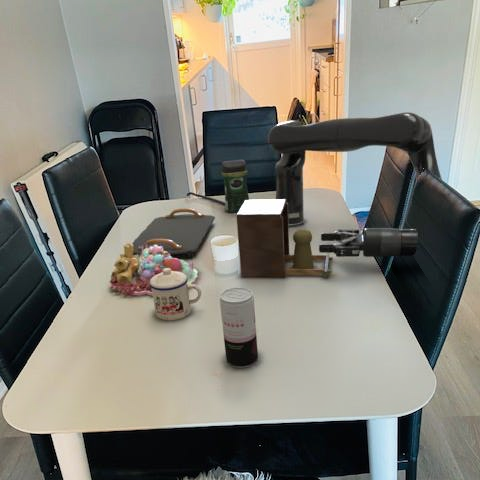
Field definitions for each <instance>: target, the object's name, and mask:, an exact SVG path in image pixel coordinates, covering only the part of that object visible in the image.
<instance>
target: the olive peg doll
mask: <svg viewBox="0 0 480 480" xmlns="http://www.w3.org/2000/svg"><path fill="white" fill-rule="evenodd" d="M292 240H293V242H294V251H293V252H294V253H293V255H294V258H293V261H292V268H291V269H315V265H314V261H313V258H312V255H313V253H312V252H313V251H312V246H311V242H312V240H313V234H312V232H311V230H308V229H298V230H295V232H294V233H293V235H292Z"/></svg>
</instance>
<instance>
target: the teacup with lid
mask: <svg viewBox="0 0 480 480" xmlns="http://www.w3.org/2000/svg"><path fill="white" fill-rule="evenodd" d="M187 281H188V279H187V276H186V275H185V274H184V273H181V272H177V271H171V269H170V268H164V269H163V272H162V273H160V274H157V275H155V276H154V277H152V279H151V280H150V287H151V289H152V294H153V296H152V299H153V306H154V310H155V315H156V317H157V318H158V319H160V320H164V321H176V320H181V319H183V318H185V317H187V316H188V315H189V314H190V312H191V310H192V308H191V305H193V304H196V303H198V302H199V301H200V299H201V297H202V290H201V288H200V286H198V285H197V284H195V283H194V284H187ZM188 288H189V289H194V290H196V292H197V297H195V298H194V299H190V294H189V293H190V291H189V289H188Z"/></svg>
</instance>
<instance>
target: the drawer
mask: <svg viewBox="0 0 480 480" xmlns="http://www.w3.org/2000/svg"><path fill="white" fill-rule="evenodd" d="M293 258H294V254H290V255H284V263H285V264H286V262H293ZM312 258H313V262H325V264H324V268H314V269H292V268H285V276H324V278H328V275H329V274H332V269H329V265H330V261H333V260H334V259H333V256H330V253H325V254H312Z"/></svg>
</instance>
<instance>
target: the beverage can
mask: <svg viewBox="0 0 480 480" xmlns="http://www.w3.org/2000/svg"><path fill="white" fill-rule="evenodd" d="M219 306H220V307H219V308H220V317H221V324H222V333H223V344H224V351H225V360H226V362H227V363H228V365H230V366H232V367H234V368H240V369H241V368H242V369H243V368H248V367H250V366H252V365H254V364H255V363H256V362H257V361H258V359H259V352H258V351H259V350H258V338H257V337H258V336H257V325H256V312H255V297H254V294H253V291H252V290H251V289H249V288H246V287H232V288H227V289H225V290H224V291H222V292H221V293H220V294H219Z"/></svg>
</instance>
